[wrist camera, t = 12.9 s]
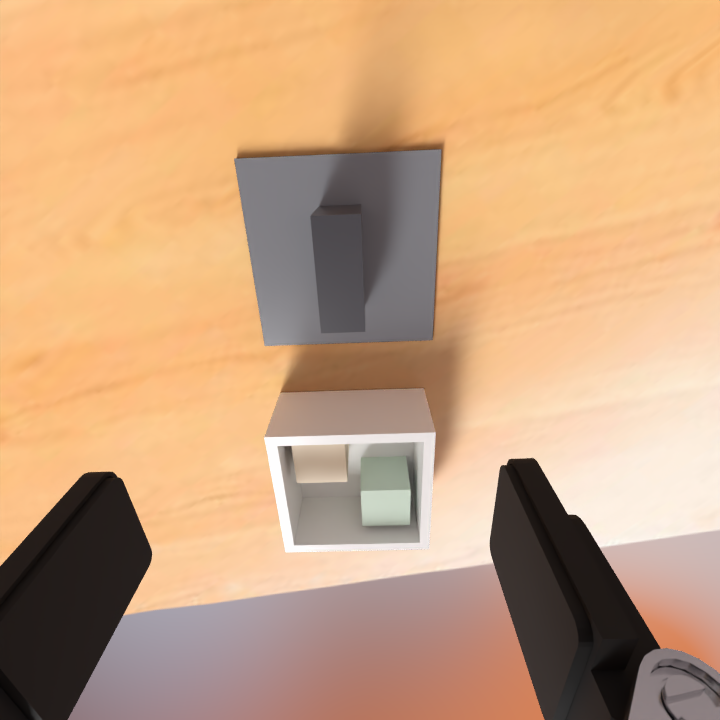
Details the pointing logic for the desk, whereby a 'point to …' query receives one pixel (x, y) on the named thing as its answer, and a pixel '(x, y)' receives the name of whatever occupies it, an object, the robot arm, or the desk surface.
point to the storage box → (350, 466)
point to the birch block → (321, 463)
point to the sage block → (385, 491)
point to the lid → (343, 245)
